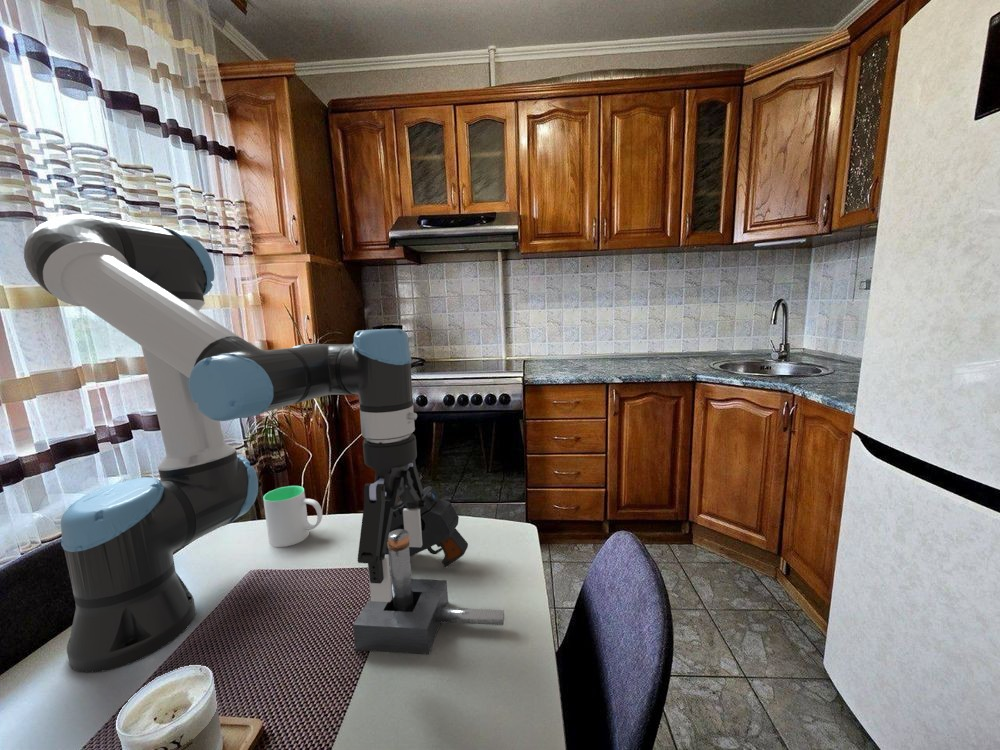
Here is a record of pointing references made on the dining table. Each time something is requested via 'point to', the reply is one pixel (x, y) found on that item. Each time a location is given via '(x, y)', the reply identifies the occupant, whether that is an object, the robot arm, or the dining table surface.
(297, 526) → the mug
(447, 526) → the toy gun
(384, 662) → the dining table surface
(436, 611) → the grey holed block
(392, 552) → the grey metal rod
